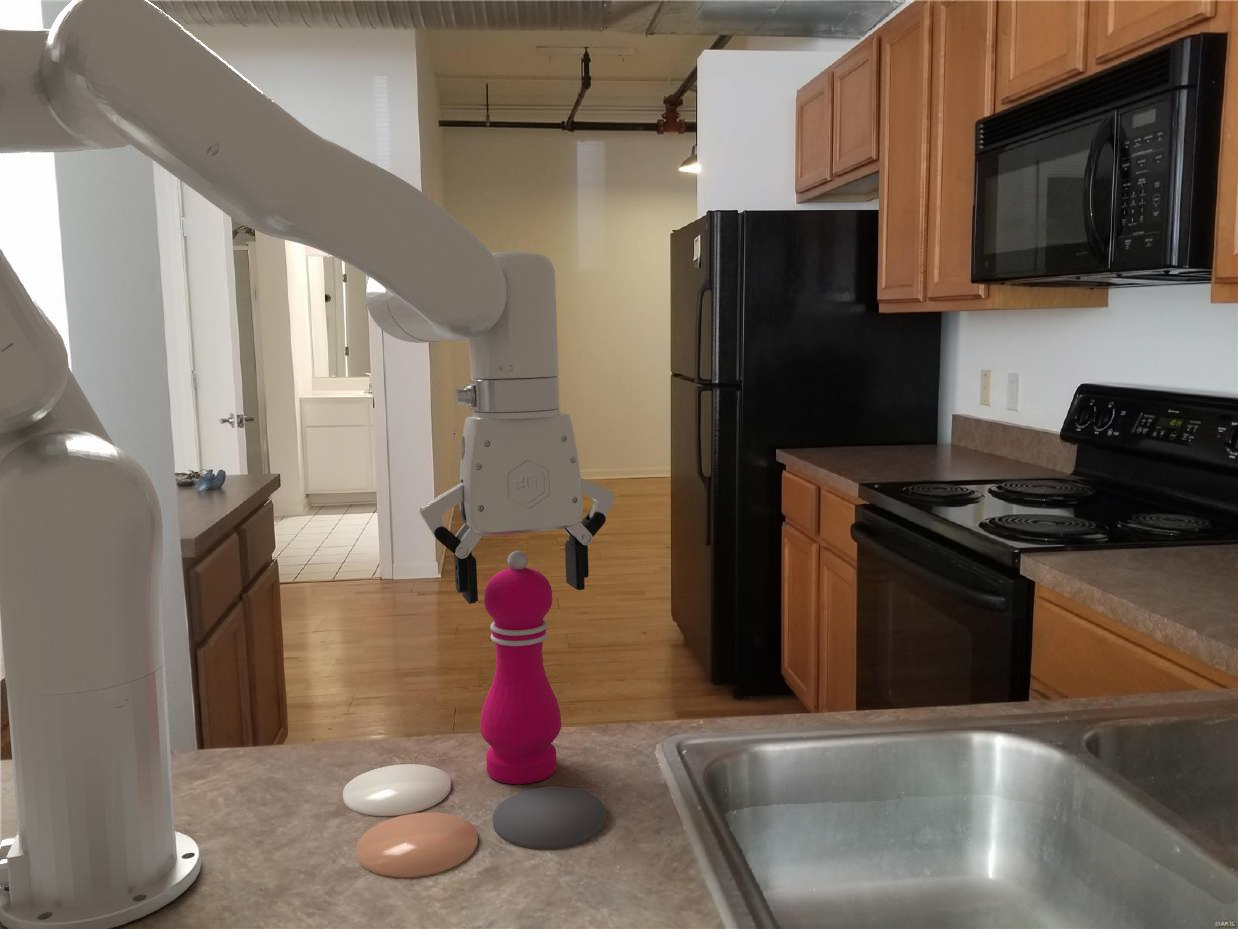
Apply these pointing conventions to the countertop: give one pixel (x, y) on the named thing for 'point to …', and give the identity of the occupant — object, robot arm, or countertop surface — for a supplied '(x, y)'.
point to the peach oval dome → (416, 844)
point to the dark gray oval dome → (549, 817)
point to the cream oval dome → (396, 790)
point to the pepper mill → (519, 678)
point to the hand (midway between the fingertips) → (523, 593)
